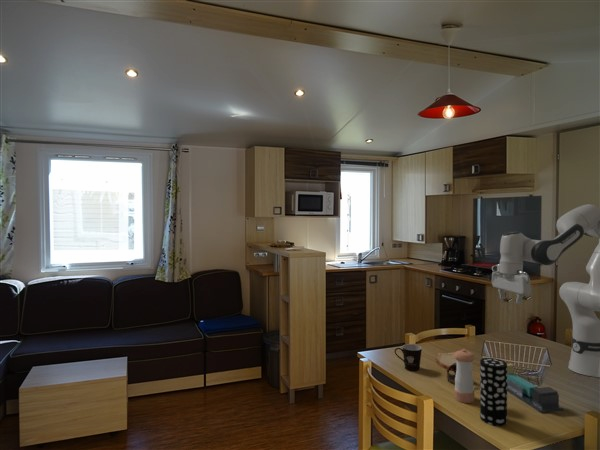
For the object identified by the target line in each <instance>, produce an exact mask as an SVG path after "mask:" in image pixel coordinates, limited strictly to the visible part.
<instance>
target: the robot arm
mask: <svg viewBox="0 0 600 450" xmlns="http://www.w3.org/2000/svg"><path fill="white" fill-rule="evenodd" d="M555 226H556V230H557V232H558V233H559V234H558V235H556V236H555V238H553V239H549V240H542V239H541V240H539V239H531V238H530V237H527V236H526V235H525V234H523V233H522V231H516V230H514V231H507V232H504V233H503V234H502V236H501V238H500V243H499V254H500V259H499V263H498V264H495V265H493V266H491V270H492V273H491V285H492V287H493V288H497V291H498V294H499V299H500V300H506V297H507V296H506V294H505V291H507V292H511V293H514V294H516V298H515V299H514V304H515V305H521V304H522V299H523V298H524V296H527V295H528V296H529V295H530V294H531V292H532V285H531V279H530V275H529V273H527V271H523V270H524V268H523V267H524V261H525V262H529V263H533V264H534V263H535V264H540V265H543V266H551V265H554V264H555V263H556V262H557V261H558V260H559V258H561V256H562V255H563V254H564V252H566V251H567V250H568V249H570V248H572V246H573V245H575V244H576V243H577V242H578V241H580V240H581V239H582V237H583V236H584V235H585V236H586V237H590V238H591V237H595V238H598V244H597V245H596V247H595V249H594V250H593V252H592V254H591V257H590V258H589V260H588V262H587V264H586V266H585V270H586V273H587V274H588V275H589V277H590V278H589V282H588V283H586V282H580V281H567V282H564V283H562V285H561V286H560V288H559V297H560V298H561V300H562V301H563V302H564V304H565V305H566V307H567V309H568V310H569V315H570V317H571V321H572V337H571V339H570V340H571V350H570V351H571V352H570V359H569V361H568V366H567V368H568V369H569V370H570V371H572V372H574V373H577V374H580V375H584V376H587V377H594V378H600V318H599V317H598V316H597V315H596V313H595V312H598V313H600V208H599V207H598V206H597V205H595V204H592V203H591V204H589V203H588V204H587V203H586V204H582V205H580V206H577V207H575V208H572V209H571V210H569V211H568V212H566V213H565V214H562V215H561V216H560V217H559V218H558V219H557V221H556V225H555Z"/></svg>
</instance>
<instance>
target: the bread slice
mask: <svg viewBox="0 0 600 450" xmlns="http://www.w3.org/2000/svg"><path fill="white" fill-rule="evenodd" d="M455 353H456V351H452V352H441V351H438V352H437V353H436V354H435V358H434V360H435V363H437V364H438V366H440V367H441V368H443V369H444V370H447V368H448V367H449V366H450V365H452V364H454V363H457V360H456V359H455V357H454V355H455ZM449 372H454V371H453V369H451V370H450V371H449Z"/></svg>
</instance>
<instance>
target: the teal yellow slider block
mask: <svg viewBox="0 0 600 450" xmlns="http://www.w3.org/2000/svg"><path fill="white" fill-rule="evenodd" d="M514 372H515V365H514V364H512V363H511V362H510V363H507V383H508V380H512V381H514V382H515V383H517V384H519V385H520V386H522V387H524V394H526V395H527V396H529V397H532V389H533V388H539V386H537V385H535V384H533V383H531V382H530V381H528V380H526V379H525V378H523V377H521V376H519V375H517V374H515V373H514ZM524 379H525V380H524Z"/></svg>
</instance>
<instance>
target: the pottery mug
mask: <svg viewBox="0 0 600 450" xmlns="http://www.w3.org/2000/svg"><path fill="white" fill-rule="evenodd" d="M451 369H453V371H452V372H454V374H451V373H450V372H451V371H450V370H451ZM456 370H457V363H454V364H452V365H450V366H449V367H448V368H447V369H446V372H447V373H446V379H447V381H448V382H450V381H451V382H455V376H456Z"/></svg>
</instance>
